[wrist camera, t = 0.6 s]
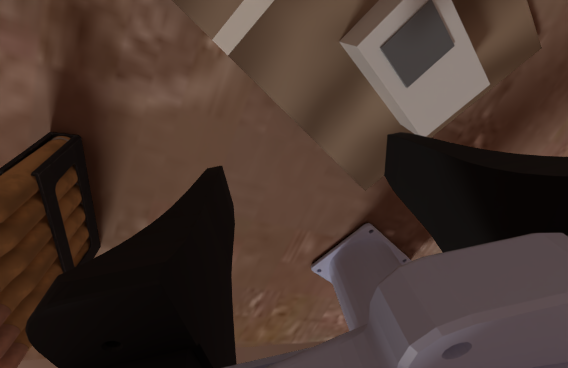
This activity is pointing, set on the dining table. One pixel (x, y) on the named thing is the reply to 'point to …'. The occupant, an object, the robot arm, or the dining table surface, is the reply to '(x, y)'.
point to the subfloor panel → (346, 65)
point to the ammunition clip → (41, 231)
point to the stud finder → (417, 60)
